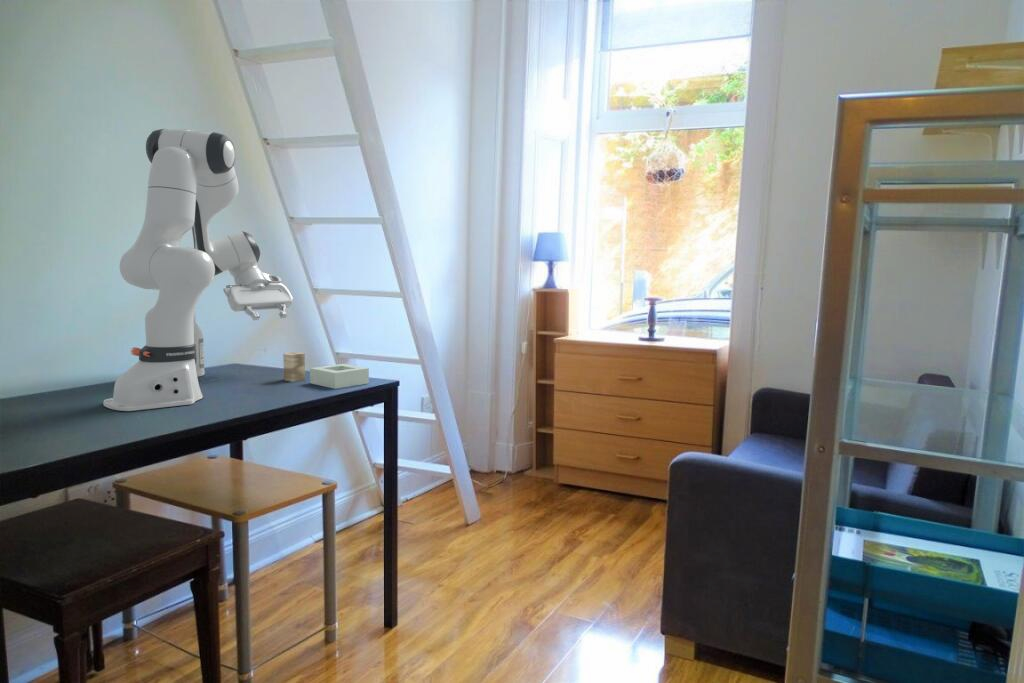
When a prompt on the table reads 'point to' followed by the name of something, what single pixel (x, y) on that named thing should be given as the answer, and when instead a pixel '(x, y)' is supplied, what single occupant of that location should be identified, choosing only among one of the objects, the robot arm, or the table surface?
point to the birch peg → (294, 366)
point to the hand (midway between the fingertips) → (270, 317)
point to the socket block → (339, 376)
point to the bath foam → (199, 349)
